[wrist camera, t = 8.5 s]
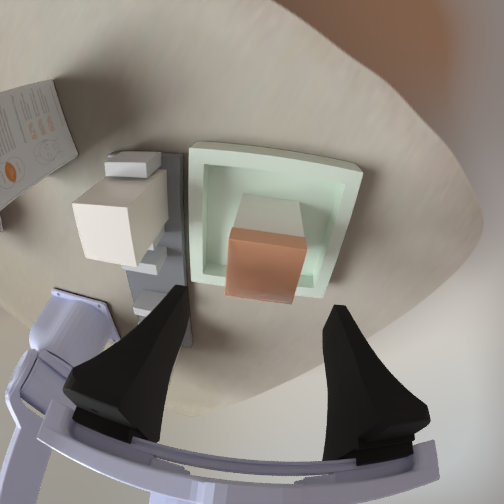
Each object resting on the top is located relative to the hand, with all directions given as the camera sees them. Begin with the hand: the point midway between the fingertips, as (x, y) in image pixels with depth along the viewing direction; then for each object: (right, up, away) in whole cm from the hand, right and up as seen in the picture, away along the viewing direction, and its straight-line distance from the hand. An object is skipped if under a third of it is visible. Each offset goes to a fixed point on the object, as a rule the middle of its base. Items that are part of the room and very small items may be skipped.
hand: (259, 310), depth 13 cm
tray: (+1, +5, +7) cm, 9 cm away
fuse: (-9, +7, +6) cm, 13 cm away
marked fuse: (+1, +5, +7) cm, 9 cm away
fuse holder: (-9, +1, +11) cm, 15 cm away
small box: (-18, +14, +4) cm, 23 cm away
